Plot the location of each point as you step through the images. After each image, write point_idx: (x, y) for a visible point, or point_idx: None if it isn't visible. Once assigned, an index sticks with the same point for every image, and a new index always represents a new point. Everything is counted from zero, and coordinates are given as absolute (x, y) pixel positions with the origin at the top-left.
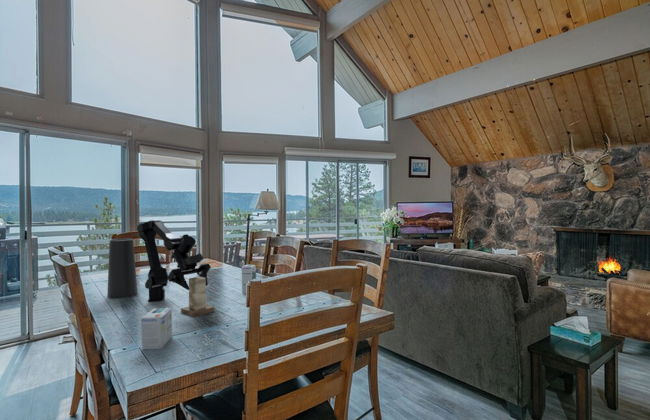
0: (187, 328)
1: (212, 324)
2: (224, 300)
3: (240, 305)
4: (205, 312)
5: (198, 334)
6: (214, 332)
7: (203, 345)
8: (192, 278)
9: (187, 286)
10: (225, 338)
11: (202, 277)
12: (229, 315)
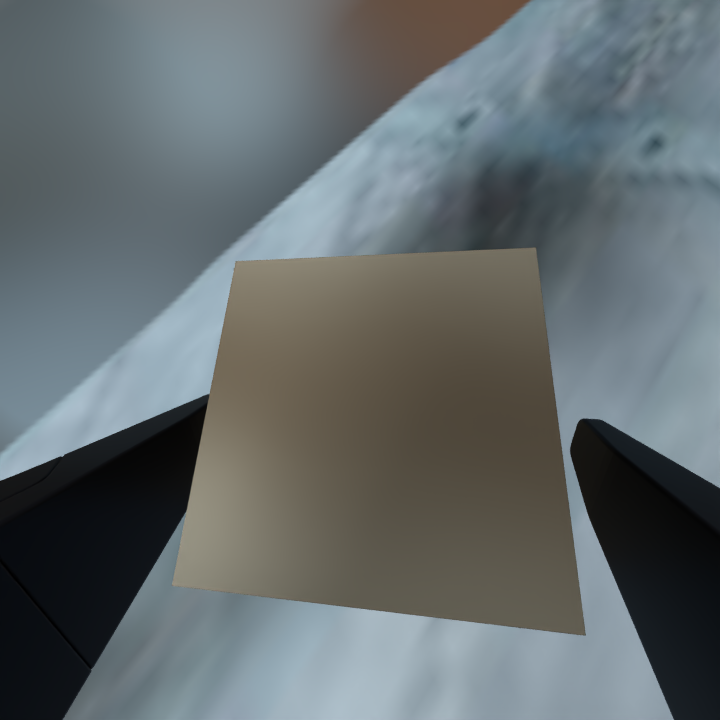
0: (653, 229)
1: (506, 182)
2: None
3: (159, 320)
4: None
5: (653, 119)
6: (574, 92)
7: (708, 12)
8: (490, 501)
9: (634, 444)
10: (583, 17)
11: (234, 359)
12: (342, 227)
